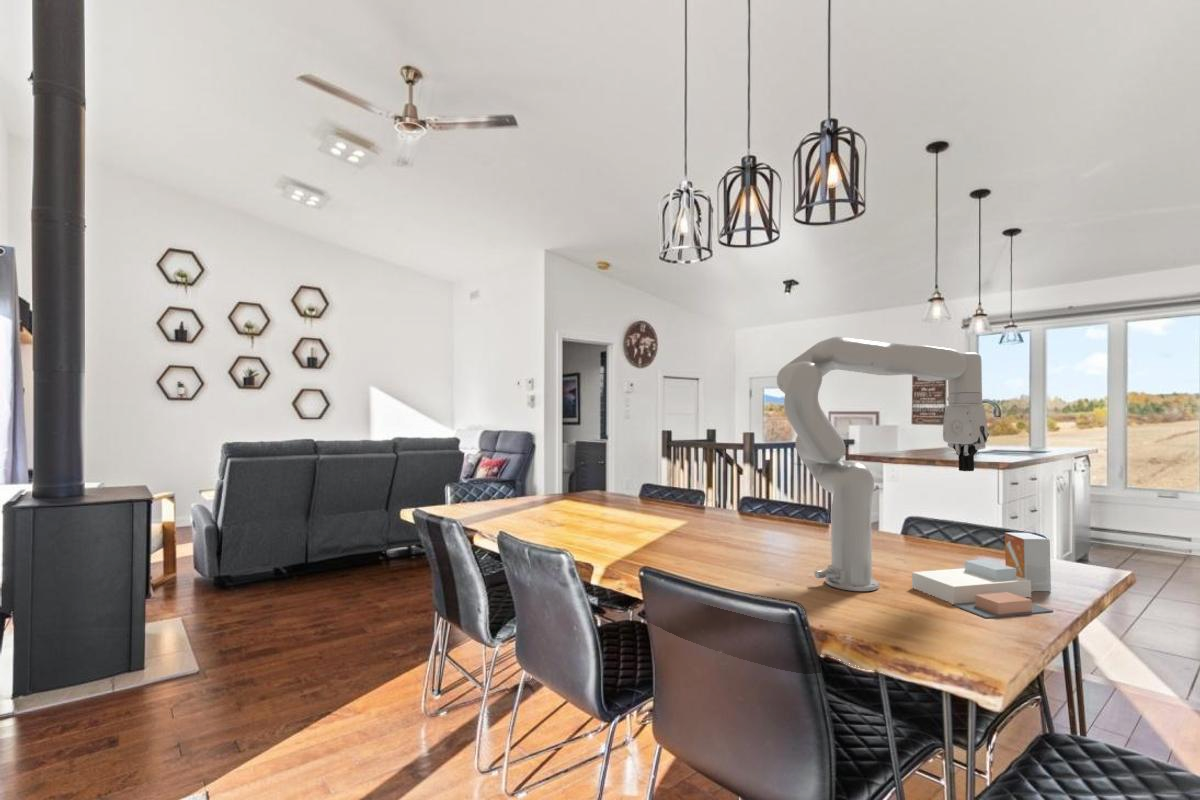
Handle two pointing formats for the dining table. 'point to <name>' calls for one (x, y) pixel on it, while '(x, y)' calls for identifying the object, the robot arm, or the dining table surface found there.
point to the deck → (965, 585)
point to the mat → (987, 614)
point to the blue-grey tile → (990, 569)
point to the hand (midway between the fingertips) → (966, 470)
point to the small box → (1029, 558)
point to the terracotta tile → (1003, 603)
